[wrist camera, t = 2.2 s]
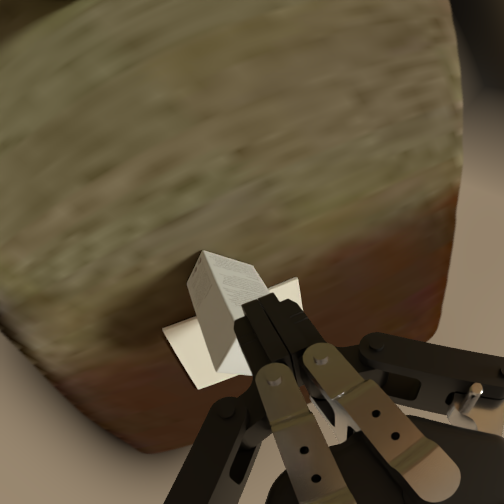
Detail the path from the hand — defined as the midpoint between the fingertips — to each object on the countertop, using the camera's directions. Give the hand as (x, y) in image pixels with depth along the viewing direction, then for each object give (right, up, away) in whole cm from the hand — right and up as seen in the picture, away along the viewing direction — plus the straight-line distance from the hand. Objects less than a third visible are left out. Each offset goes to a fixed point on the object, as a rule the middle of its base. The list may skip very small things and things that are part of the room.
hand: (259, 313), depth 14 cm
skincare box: (-4, +1, +19) cm, 19 cm away
